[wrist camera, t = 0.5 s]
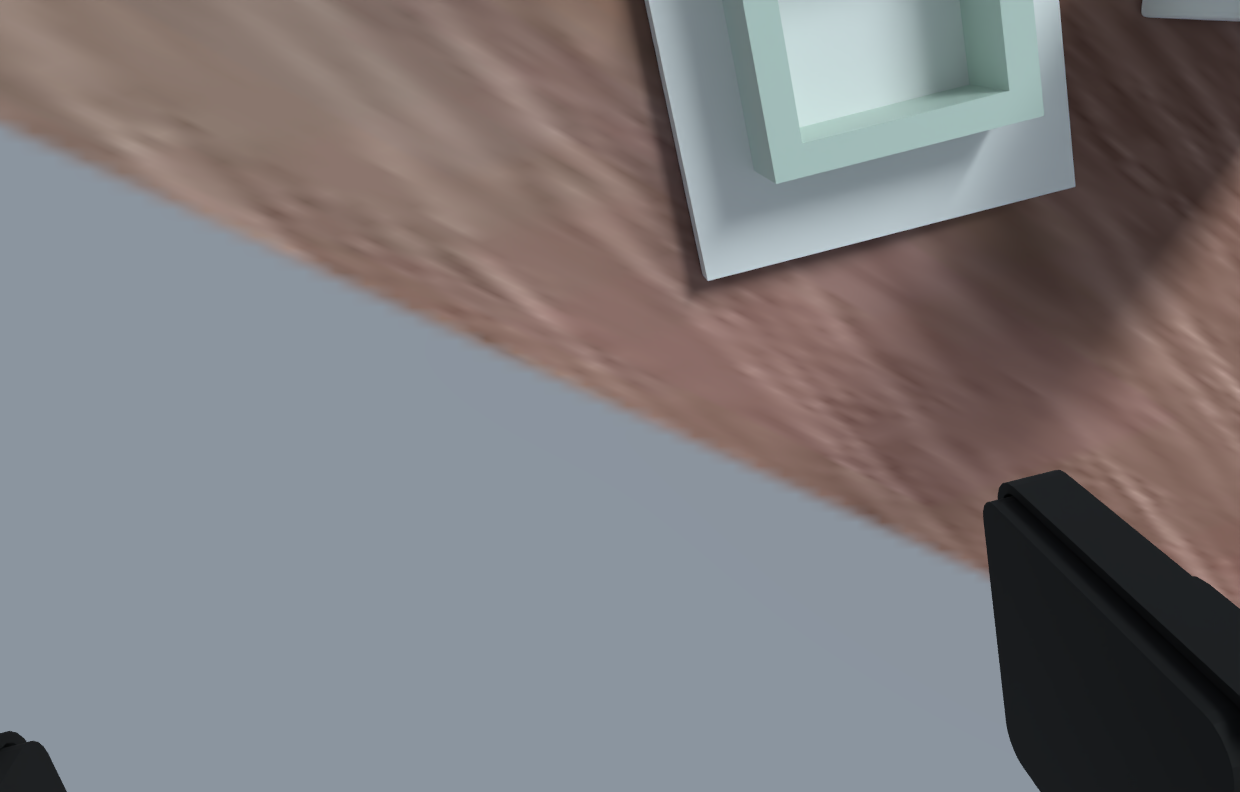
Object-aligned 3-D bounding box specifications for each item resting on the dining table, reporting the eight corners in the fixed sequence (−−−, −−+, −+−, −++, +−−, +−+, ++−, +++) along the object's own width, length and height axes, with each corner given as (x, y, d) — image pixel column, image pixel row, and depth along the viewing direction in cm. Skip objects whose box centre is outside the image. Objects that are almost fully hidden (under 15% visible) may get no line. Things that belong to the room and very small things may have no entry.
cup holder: (602, -200, 34) (616, -226, 30) (1016, -301, 34) (1082, -339, 30) (702, 274, 39) (725, 303, 35) (1061, 182, 39) (1122, 200, 35)
